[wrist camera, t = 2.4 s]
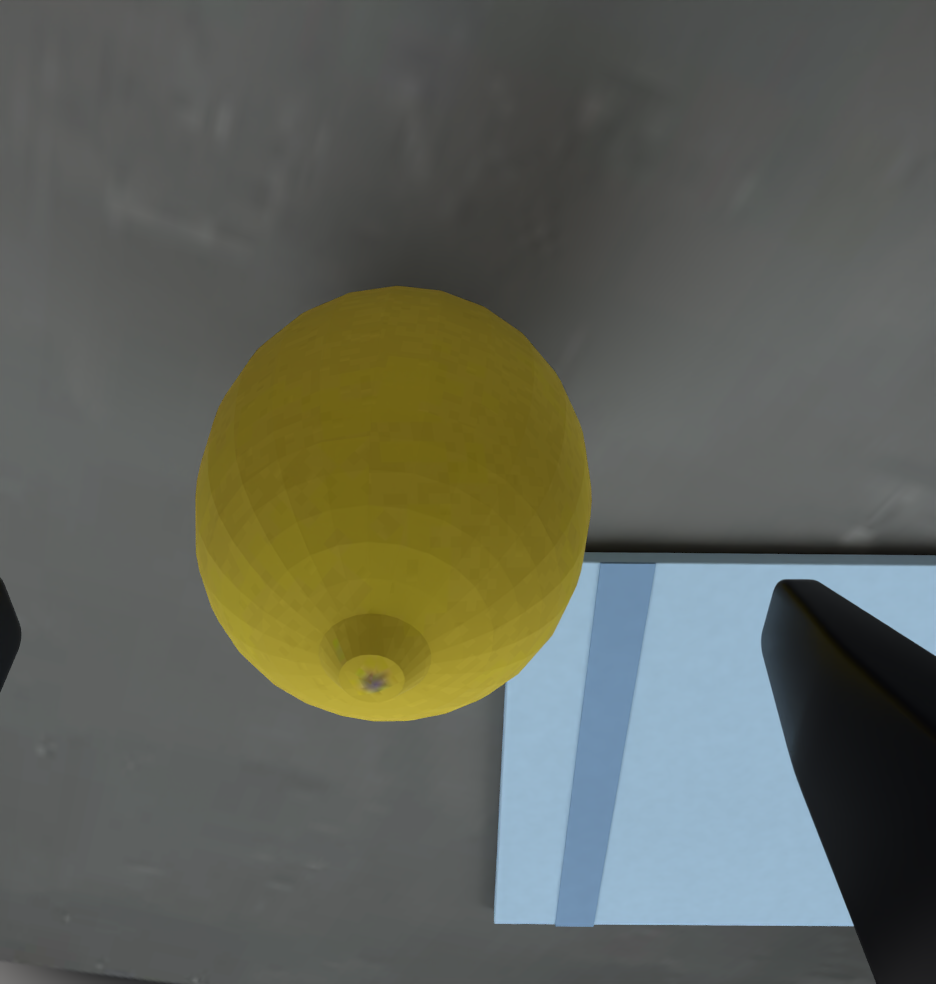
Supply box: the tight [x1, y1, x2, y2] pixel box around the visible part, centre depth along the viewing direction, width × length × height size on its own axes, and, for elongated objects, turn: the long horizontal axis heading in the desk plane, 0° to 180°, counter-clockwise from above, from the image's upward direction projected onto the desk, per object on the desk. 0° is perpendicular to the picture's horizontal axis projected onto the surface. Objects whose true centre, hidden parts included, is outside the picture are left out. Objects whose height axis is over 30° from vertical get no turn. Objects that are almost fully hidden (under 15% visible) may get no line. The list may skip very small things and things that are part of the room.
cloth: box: [494, 552, 936, 927], centre depth 20 cm, size 20×14×1 cm
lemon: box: [196, 286, 592, 721], centre depth 11 cm, size 6×6×8 cm
